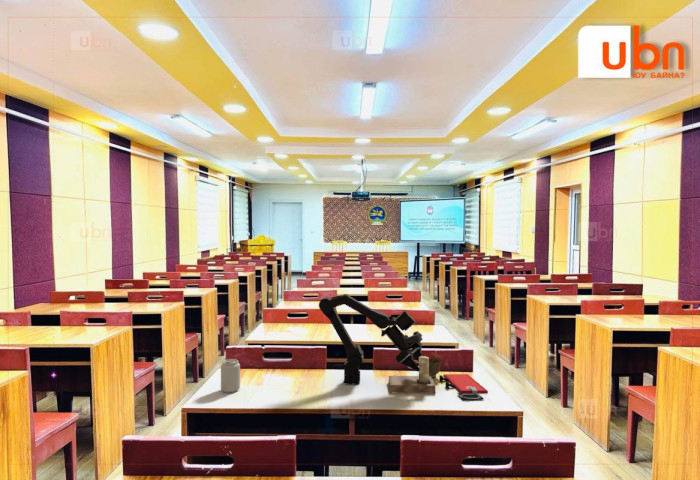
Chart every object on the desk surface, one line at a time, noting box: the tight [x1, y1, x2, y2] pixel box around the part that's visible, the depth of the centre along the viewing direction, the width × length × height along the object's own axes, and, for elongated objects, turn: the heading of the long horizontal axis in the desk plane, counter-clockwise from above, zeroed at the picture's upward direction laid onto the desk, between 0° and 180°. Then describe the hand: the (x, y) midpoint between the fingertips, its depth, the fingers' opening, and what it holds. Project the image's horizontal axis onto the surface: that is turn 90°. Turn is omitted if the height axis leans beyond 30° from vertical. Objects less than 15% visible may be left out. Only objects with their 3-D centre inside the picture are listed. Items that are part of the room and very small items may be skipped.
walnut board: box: [388, 375, 436, 394], centre depth 184 cm, size 18×12×3 cm, turn 89°
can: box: [220, 358, 241, 394], centre depth 179 cm, size 8×8×12 cm
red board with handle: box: [438, 373, 489, 400], centre depth 185 cm, size 30×3×15 cm
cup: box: [429, 357, 442, 379], centre depth 197 cm, size 8×7×8 cm
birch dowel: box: [418, 355, 430, 384], centre depth 182 cm, size 4×4×13 cm
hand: (422, 367), depth 182 cm, fingers open, 9 cm apart
